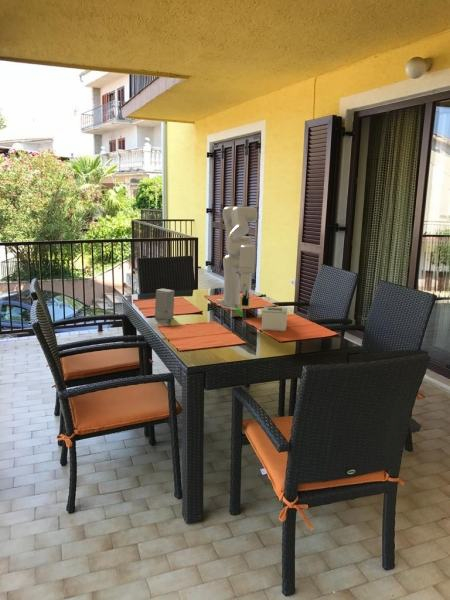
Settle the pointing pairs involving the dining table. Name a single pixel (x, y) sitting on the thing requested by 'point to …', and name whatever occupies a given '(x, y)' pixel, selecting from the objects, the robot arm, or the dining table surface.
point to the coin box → (274, 318)
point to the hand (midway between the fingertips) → (245, 304)
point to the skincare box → (164, 304)
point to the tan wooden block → (248, 303)
